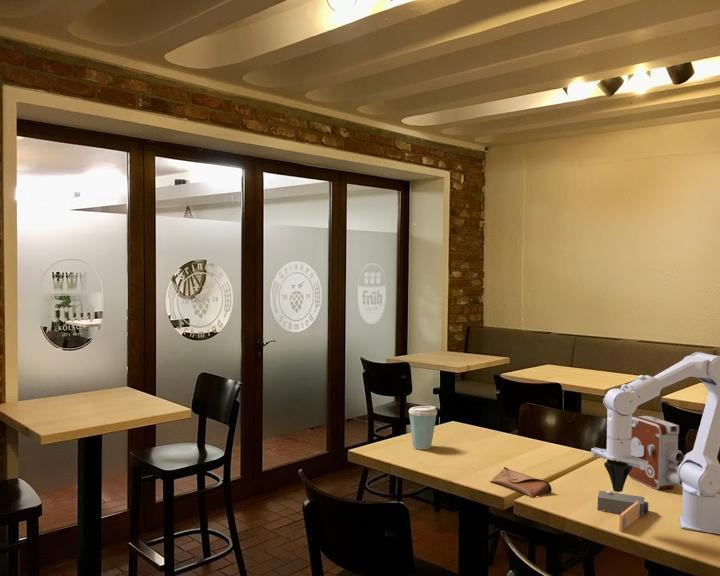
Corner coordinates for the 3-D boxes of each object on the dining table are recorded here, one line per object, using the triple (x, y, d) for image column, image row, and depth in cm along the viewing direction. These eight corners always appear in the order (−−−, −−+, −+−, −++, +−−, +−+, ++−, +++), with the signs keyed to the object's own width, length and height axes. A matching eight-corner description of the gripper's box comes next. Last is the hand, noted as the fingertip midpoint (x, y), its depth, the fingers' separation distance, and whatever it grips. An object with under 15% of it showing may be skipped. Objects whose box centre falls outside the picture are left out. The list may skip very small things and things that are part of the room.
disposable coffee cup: (404, 449, 225) (405, 408, 225) (411, 442, 235) (411, 402, 235) (433, 452, 222) (434, 410, 222) (438, 444, 232) (439, 405, 232)
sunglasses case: (485, 481, 191) (493, 461, 193) (498, 489, 195) (506, 469, 197) (533, 498, 177) (541, 476, 178) (546, 506, 180) (554, 485, 182)
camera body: (648, 510, 169) (648, 495, 169) (648, 518, 163) (648, 502, 163) (599, 502, 174) (599, 488, 174) (597, 510, 169) (597, 495, 169)
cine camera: (668, 497, 179) (669, 428, 179) (622, 476, 198) (624, 414, 197) (694, 495, 181) (695, 427, 181) (647, 474, 200) (648, 413, 200)
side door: (636, 515, 165) (636, 500, 164) (641, 516, 164) (642, 501, 164) (618, 530, 154) (619, 514, 154) (624, 532, 154) (624, 516, 154)
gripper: (584, 433, 160) (583, 485, 160) (637, 446, 148) (636, 502, 148) (600, 429, 164) (599, 480, 164) (653, 442, 152) (652, 497, 152)
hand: (618, 490), depth 157 cm, fingers closed
